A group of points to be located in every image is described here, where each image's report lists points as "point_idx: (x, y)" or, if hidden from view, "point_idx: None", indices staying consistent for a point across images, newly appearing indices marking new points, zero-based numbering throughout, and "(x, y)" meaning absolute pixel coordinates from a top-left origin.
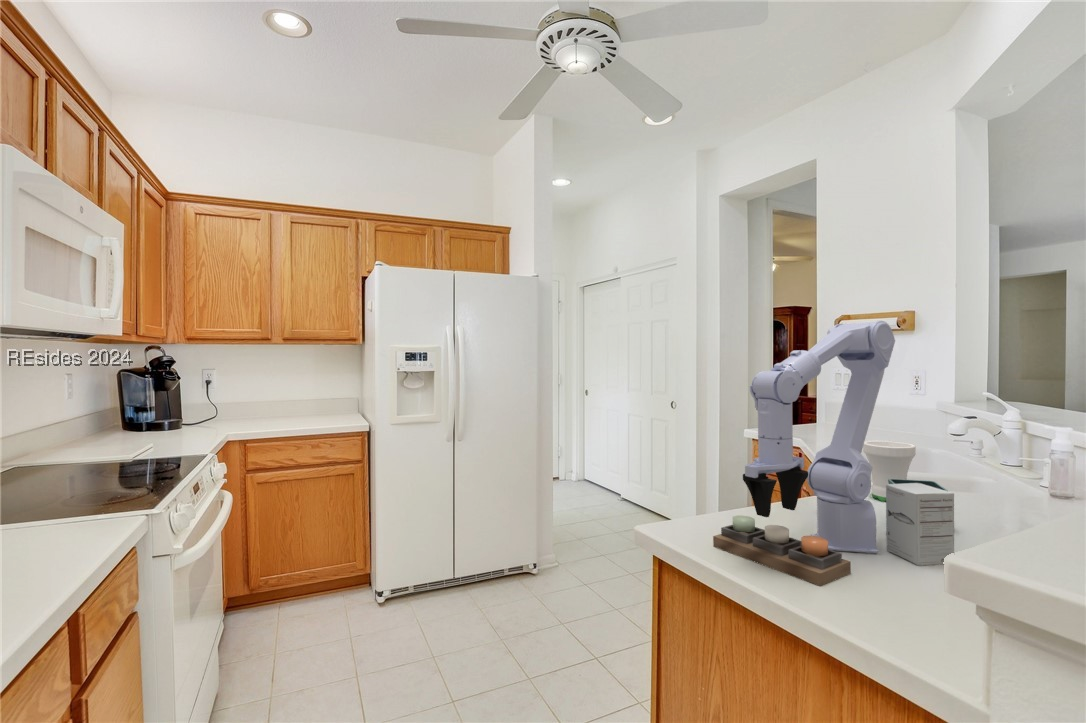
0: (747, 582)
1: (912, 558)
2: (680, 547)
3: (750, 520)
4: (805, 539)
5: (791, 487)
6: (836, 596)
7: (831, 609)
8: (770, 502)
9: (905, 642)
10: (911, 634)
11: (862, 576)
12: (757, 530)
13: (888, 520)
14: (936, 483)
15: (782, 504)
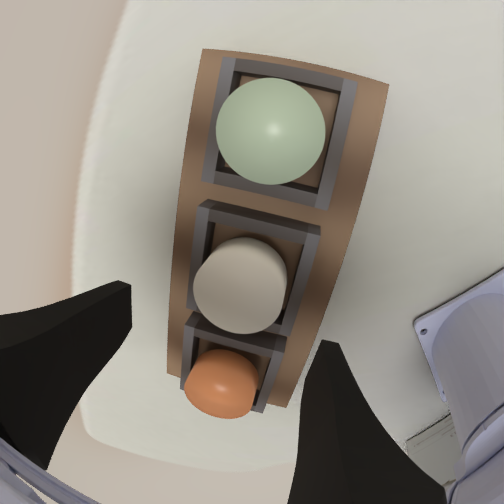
0: (83, 247)
1: (416, 442)
2: (140, 8)
3: (262, 170)
4: (197, 381)
5: (302, 467)
6: (161, 377)
7: (116, 372)
8: (92, 375)
9: (119, 424)
10: (140, 431)
11: (289, 402)
12: (322, 172)
13: None
14: None
15: (322, 348)
